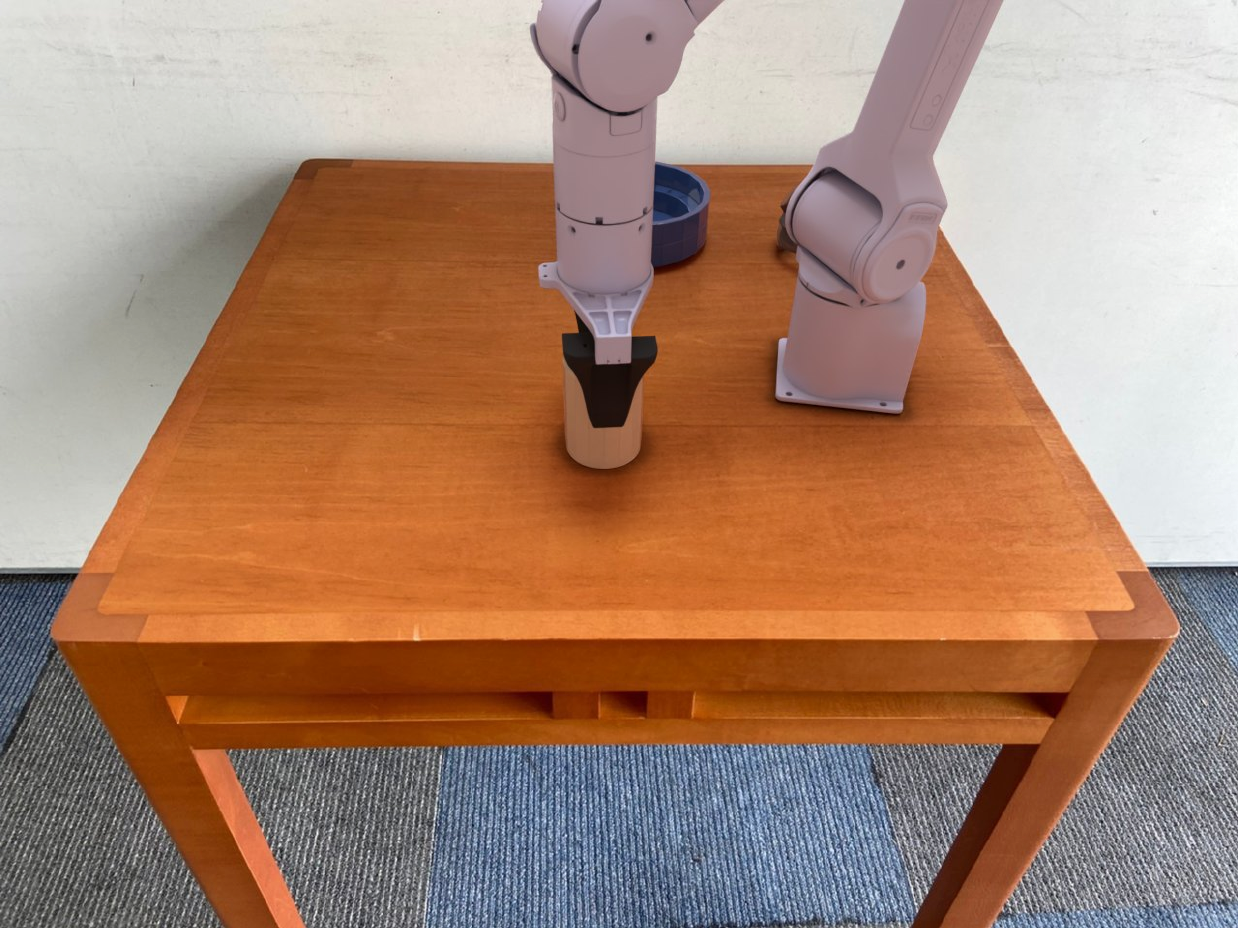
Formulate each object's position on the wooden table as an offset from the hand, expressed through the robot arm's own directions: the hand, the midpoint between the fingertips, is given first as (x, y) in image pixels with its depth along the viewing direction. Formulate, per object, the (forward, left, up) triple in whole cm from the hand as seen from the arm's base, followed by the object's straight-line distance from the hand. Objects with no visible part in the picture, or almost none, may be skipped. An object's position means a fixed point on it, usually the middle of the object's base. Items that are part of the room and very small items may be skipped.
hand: (603, 388), depth 62 cm
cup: (0, 0, -5) cm, 5 cm away
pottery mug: (-16, -32, -5) cm, 36 cm away
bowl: (+2, -30, -5) cm, 31 cm away
